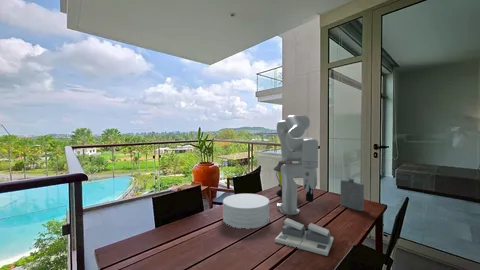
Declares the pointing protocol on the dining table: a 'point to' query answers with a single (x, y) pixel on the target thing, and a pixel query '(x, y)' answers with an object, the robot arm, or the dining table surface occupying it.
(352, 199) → the hip flask
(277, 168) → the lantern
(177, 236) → the dining table surface
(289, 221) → the left switch
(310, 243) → the panel
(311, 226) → the right switch
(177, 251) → the dining table surface
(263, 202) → the plate stack
